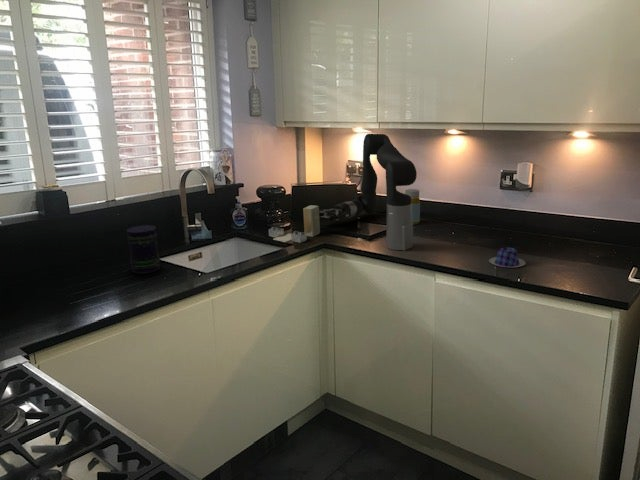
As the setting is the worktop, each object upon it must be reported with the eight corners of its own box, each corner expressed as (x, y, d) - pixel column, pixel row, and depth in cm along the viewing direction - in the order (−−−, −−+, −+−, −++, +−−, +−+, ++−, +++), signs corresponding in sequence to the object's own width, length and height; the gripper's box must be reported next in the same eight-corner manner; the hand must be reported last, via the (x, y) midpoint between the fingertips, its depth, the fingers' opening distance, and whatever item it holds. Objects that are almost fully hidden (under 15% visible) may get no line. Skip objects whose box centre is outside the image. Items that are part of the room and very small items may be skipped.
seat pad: (301, 236, 231) (301, 235, 230) (285, 242, 223) (285, 241, 223) (289, 234, 235) (289, 233, 235) (273, 239, 228) (273, 238, 227)
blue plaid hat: (532, 263, 189) (533, 249, 188) (512, 271, 182) (513, 256, 180) (502, 256, 198) (503, 242, 197) (481, 263, 191) (482, 249, 190)
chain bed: (306, 240, 225) (306, 232, 224) (300, 242, 222) (300, 234, 221) (275, 234, 236) (274, 225, 235) (268, 236, 233) (268, 227, 232)
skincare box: (311, 232, 237) (310, 204, 234) (320, 233, 235) (319, 205, 231) (303, 236, 232) (302, 207, 228) (312, 237, 229) (311, 208, 226)
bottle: (402, 224, 245) (403, 191, 240) (405, 221, 251) (405, 188, 247) (418, 225, 243) (419, 192, 238) (420, 221, 249) (421, 189, 245)
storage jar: (126, 269, 196) (121, 229, 192) (152, 262, 203) (147, 223, 199) (140, 275, 189) (134, 233, 185) (165, 268, 196) (160, 228, 192)
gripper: (332, 200, 252) (309, 207, 240) (357, 204, 243) (334, 211, 231) (333, 216, 254) (310, 223, 242) (357, 220, 245) (335, 228, 233)
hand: (322, 217), depth 237 cm, fingers open, 8 cm apart
